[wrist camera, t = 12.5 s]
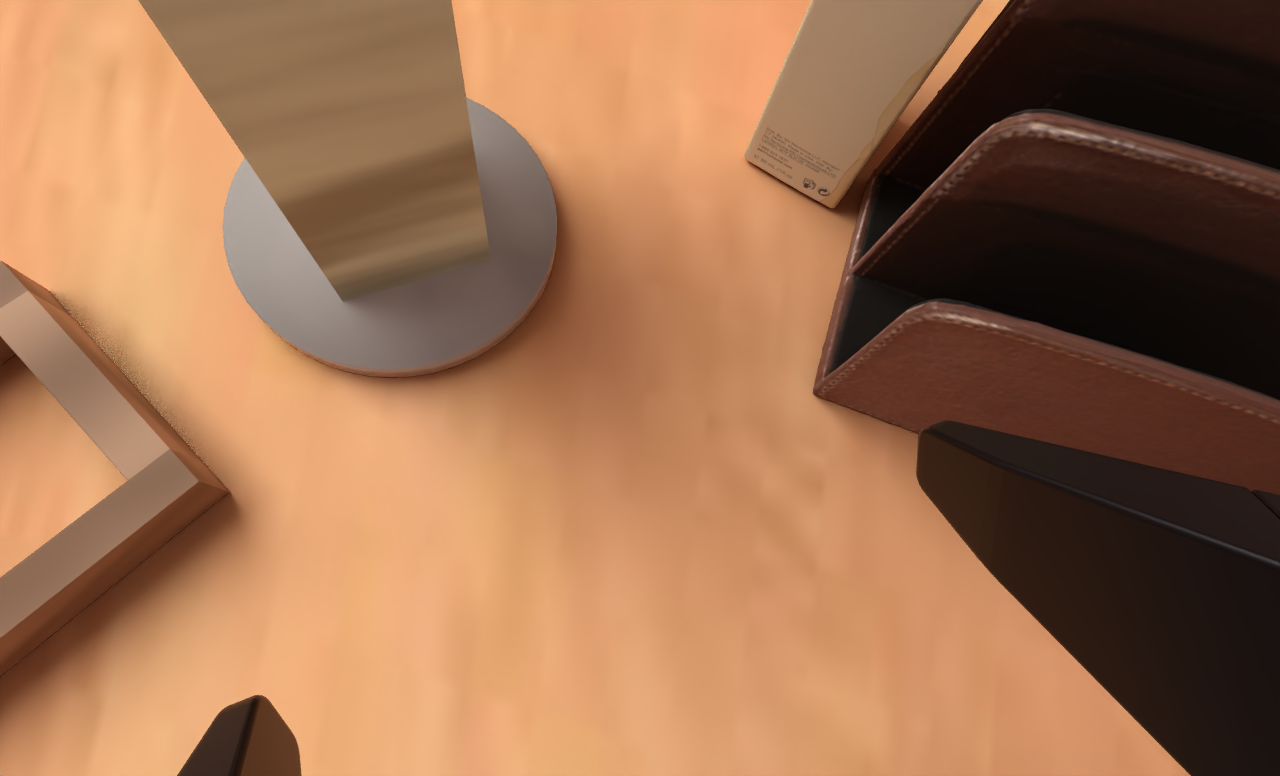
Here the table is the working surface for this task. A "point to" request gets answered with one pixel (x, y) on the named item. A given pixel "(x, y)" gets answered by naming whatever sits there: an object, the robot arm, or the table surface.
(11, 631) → the pocket block
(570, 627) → the table surface
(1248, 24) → the letter holder
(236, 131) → the tall khaki square post
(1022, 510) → the robot arm
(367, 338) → the coaster
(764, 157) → the skincare box
